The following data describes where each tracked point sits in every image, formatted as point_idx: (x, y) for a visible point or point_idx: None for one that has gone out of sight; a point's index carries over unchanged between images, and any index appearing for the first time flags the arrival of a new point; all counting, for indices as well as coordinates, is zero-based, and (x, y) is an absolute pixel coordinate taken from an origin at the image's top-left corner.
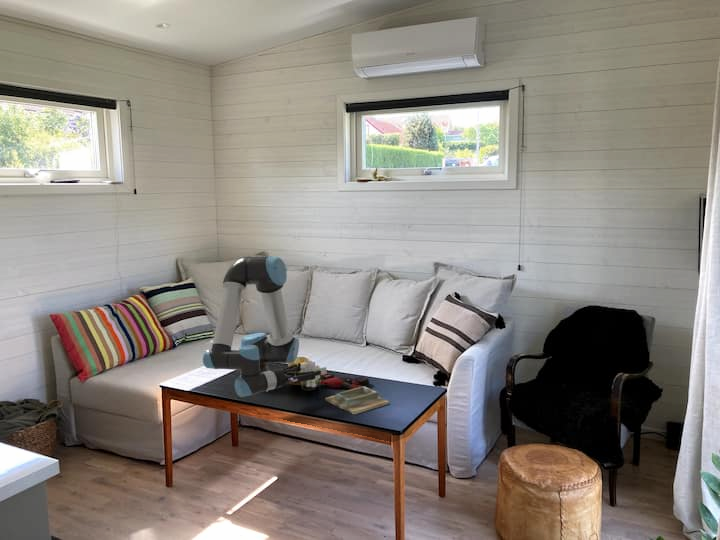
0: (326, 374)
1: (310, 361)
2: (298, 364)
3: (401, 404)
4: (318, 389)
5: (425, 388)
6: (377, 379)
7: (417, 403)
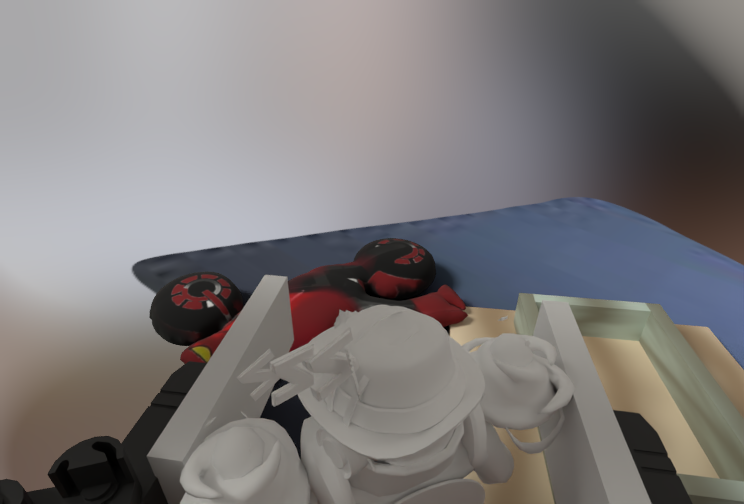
0: (199, 291)
1: (436, 337)
2: (69, 478)
3: (726, 313)
4: None
5: (570, 210)
6: (386, 228)
7: (730, 279)
